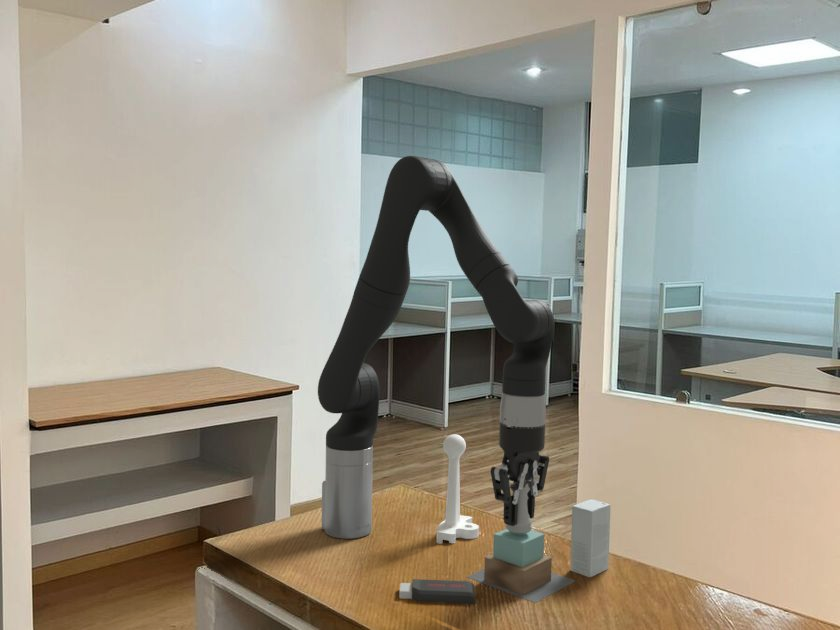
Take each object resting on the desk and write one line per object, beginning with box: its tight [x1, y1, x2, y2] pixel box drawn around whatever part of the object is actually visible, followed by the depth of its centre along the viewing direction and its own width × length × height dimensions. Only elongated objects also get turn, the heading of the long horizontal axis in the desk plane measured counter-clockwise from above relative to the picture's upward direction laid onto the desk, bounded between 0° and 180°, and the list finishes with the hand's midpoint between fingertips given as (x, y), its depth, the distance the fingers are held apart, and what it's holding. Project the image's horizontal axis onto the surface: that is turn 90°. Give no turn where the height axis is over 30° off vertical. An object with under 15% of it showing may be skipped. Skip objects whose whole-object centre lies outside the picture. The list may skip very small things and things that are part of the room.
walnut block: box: [483, 553, 553, 595], centre depth 131 cm, size 8×8×4 cm
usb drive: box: [398, 578, 476, 605], centre depth 125 cm, size 5×12×3 cm, turn 88°
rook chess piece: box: [505, 481, 533, 534], centre depth 130 cm, size 4×4×8 cm
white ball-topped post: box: [436, 433, 480, 545], centre depth 152 cm, size 11×8×20 cm
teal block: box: [492, 528, 545, 567], centre depth 130 cm, size 6×6×4 cm
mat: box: [466, 568, 576, 604], centre depth 132 cm, size 14×12×1 cm
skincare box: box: [570, 498, 611, 578], centre depth 136 cm, size 6×4×12 cm
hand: (518, 520), depth 130 cm, fingers closed on rook chess piece, 4 cm apart
